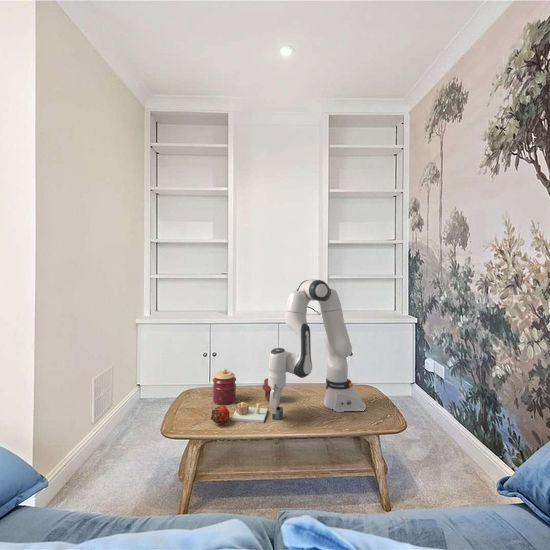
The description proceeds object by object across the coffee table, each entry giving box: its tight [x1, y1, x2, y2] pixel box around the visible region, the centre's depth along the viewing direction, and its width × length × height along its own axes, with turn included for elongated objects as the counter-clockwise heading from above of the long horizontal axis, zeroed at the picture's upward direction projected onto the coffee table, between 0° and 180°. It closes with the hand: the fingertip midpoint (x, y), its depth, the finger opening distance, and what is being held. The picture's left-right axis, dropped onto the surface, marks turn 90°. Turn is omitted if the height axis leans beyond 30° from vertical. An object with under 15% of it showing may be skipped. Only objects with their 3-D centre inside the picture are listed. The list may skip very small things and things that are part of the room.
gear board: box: [230, 401, 269, 424], centre depth 164 cm, size 16×13×6 cm
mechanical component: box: [262, 377, 271, 402], centre depth 182 cm, size 12×10×10 cm
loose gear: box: [271, 405, 284, 421], centre depth 162 cm, size 5×5×4 cm
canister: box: [212, 368, 237, 406], centre depth 181 cm, size 13×13×18 cm
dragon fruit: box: [210, 405, 230, 425], centre depth 157 cm, size 8×8×12 cm
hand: (275, 408), depth 162 cm, fingers open, 8 cm apart
